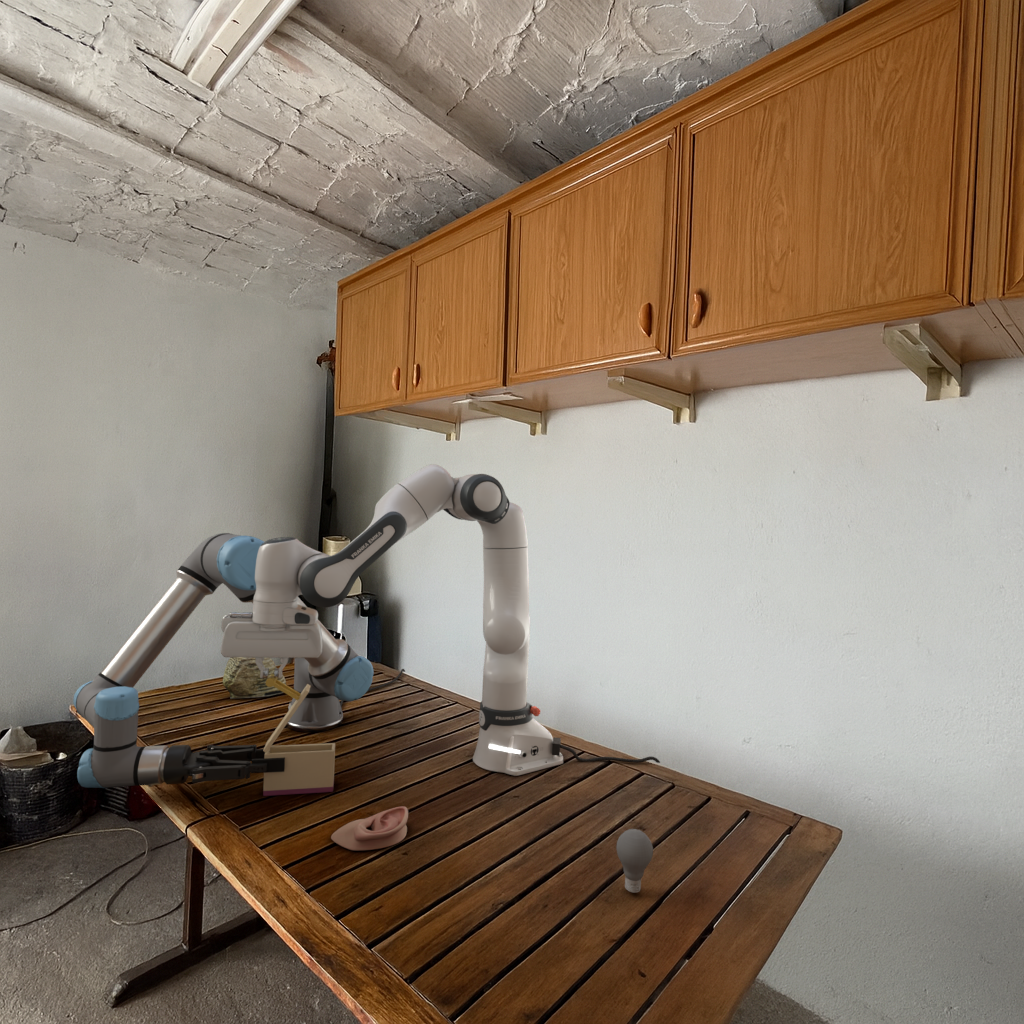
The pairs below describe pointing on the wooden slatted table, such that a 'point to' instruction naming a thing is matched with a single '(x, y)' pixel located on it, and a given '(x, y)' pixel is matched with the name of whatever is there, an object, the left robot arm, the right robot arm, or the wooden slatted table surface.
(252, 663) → the fossil
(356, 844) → the anatomical model
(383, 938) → the wooden slatted table surface
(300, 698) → the lid
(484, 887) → the wooden slatted table surface
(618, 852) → the light bulb
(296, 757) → the purple-based tan box
